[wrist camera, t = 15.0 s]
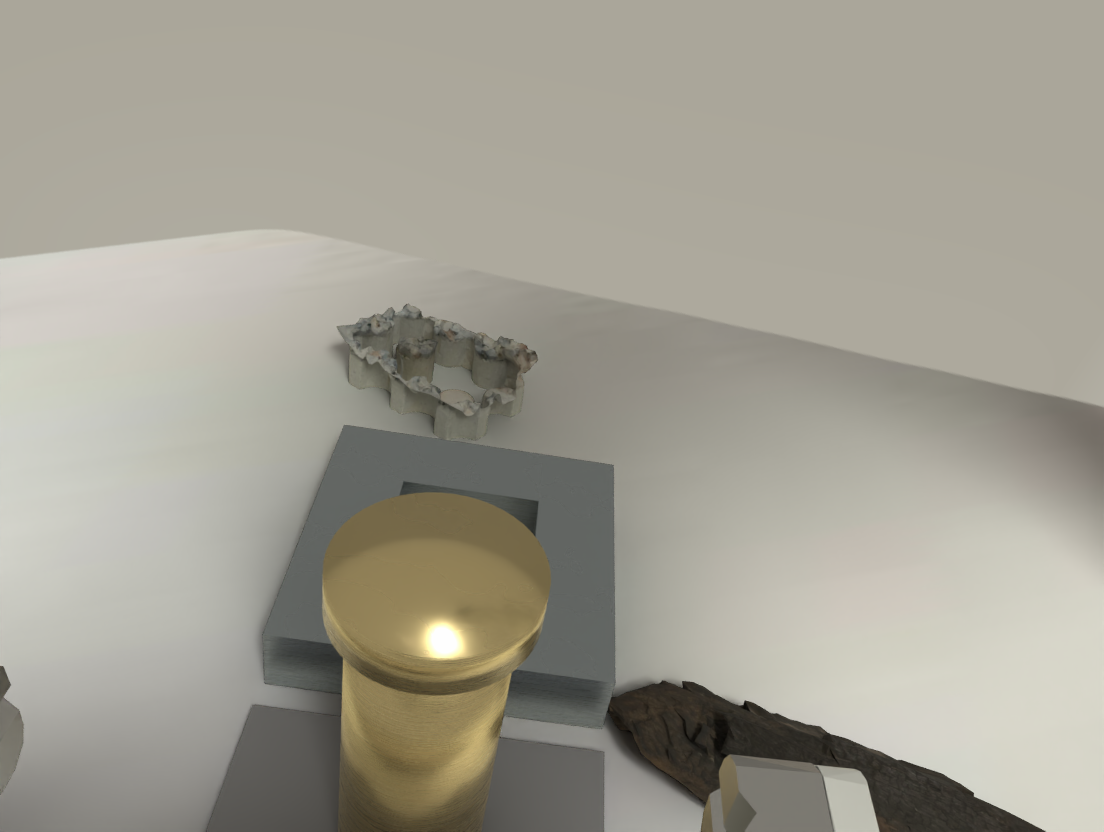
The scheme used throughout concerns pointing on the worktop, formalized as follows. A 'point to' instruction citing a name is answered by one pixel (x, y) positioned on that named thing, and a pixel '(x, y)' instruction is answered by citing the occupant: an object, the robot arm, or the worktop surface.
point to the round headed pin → (427, 654)
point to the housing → (510, 484)
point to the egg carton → (415, 363)
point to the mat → (314, 770)
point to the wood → (793, 757)
